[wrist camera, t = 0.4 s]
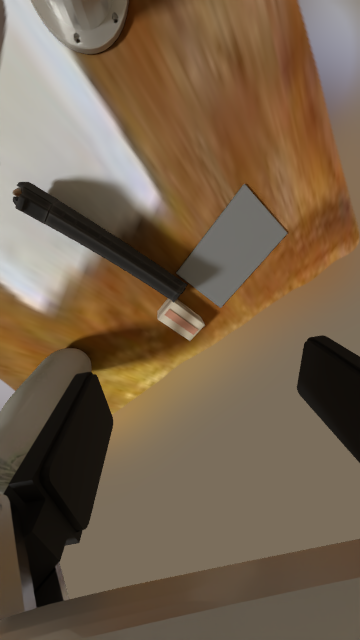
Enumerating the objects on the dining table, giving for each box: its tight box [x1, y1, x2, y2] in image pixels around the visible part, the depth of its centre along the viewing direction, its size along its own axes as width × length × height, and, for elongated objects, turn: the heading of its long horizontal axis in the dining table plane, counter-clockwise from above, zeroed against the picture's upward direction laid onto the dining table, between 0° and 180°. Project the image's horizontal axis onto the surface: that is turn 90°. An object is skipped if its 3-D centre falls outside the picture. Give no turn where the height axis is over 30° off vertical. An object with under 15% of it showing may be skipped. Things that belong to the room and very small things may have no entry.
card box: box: [158, 298, 205, 341], centre depth 43 cm, size 9×5×5 cm, turn 51°
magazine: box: [13, 182, 187, 303], centre depth 33 cm, size 17×3×30 cm
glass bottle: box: [0, 348, 91, 494], centre depth 34 cm, size 10×10×28 cm
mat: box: [176, 184, 287, 308], centre depth 40 cm, size 13×20×1 cm, turn 142°
